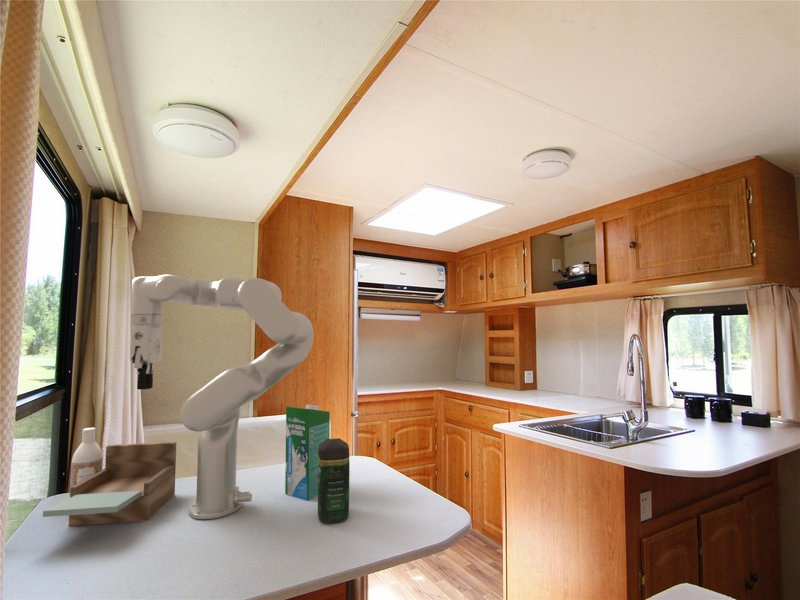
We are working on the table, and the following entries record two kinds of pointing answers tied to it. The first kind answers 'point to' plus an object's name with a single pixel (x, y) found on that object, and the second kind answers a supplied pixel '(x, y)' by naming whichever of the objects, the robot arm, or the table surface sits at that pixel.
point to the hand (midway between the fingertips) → (144, 388)
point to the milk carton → (304, 449)
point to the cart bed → (131, 481)
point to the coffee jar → (333, 481)
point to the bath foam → (86, 458)
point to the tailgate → (93, 503)
